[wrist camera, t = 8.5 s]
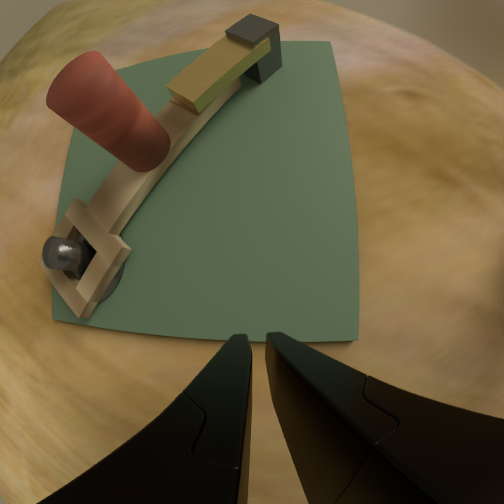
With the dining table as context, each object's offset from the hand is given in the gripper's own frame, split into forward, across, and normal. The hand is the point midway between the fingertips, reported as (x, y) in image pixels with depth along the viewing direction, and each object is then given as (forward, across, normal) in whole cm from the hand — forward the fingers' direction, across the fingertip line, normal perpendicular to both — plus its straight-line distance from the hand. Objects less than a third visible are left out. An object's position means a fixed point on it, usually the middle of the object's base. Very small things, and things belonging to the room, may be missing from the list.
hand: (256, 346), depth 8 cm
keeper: (+15, 0, +9) cm, 18 cm away
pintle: (+12, -10, -2) cm, 16 cm away
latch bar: (+13, -7, +3) cm, 15 cm away
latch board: (+14, -4, +4) cm, 15 cm away
